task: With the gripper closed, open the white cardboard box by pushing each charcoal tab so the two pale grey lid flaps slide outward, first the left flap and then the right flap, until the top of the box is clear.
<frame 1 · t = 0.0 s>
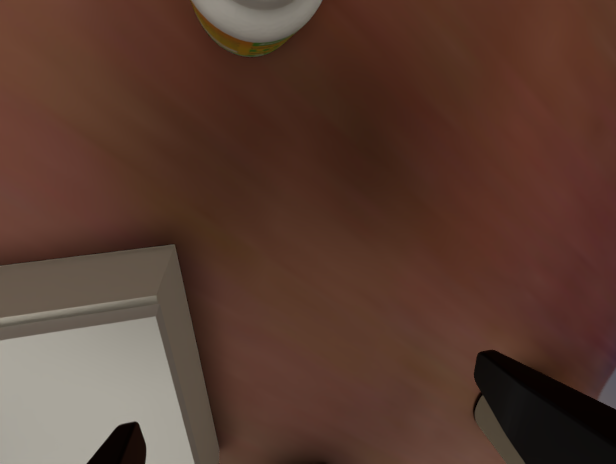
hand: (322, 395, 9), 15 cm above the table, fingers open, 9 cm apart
carton: (34, 391, 24), on the table
travel mug: (507, 397, 35), on the table
supplement bottle: (246, 0, 18), on the table
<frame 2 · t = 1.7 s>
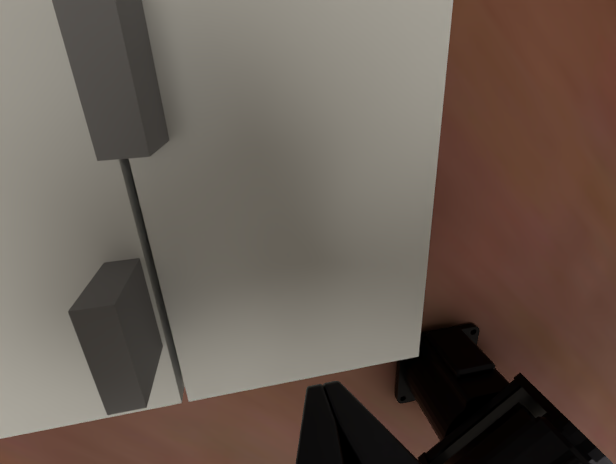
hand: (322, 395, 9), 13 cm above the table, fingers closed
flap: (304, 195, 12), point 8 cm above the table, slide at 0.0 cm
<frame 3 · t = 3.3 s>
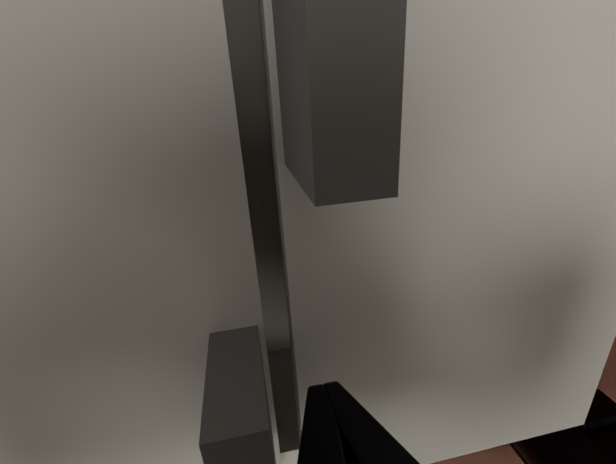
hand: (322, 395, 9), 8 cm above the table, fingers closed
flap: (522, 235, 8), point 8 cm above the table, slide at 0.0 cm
carton: (258, 179, 15), on the table
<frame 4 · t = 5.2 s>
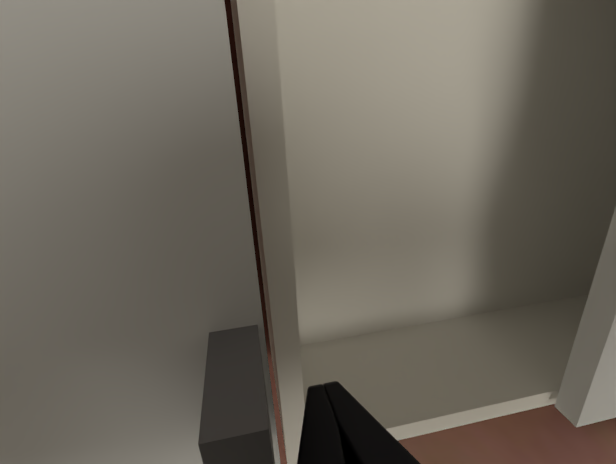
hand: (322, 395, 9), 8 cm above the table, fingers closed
carton: (483, 156, 17), on the table
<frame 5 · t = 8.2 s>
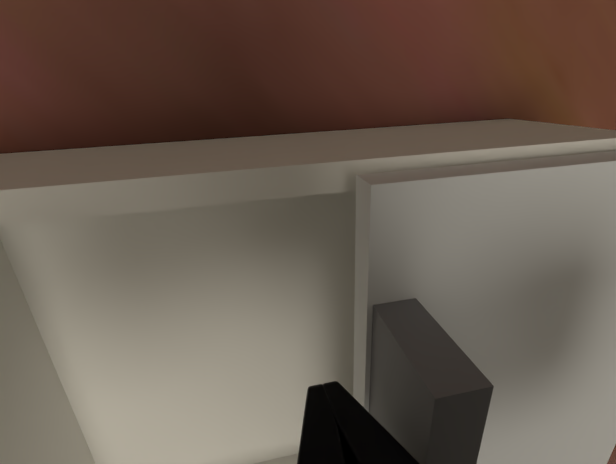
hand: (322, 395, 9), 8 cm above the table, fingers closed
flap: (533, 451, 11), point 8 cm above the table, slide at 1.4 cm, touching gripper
carton: (284, 327, 18), on the table
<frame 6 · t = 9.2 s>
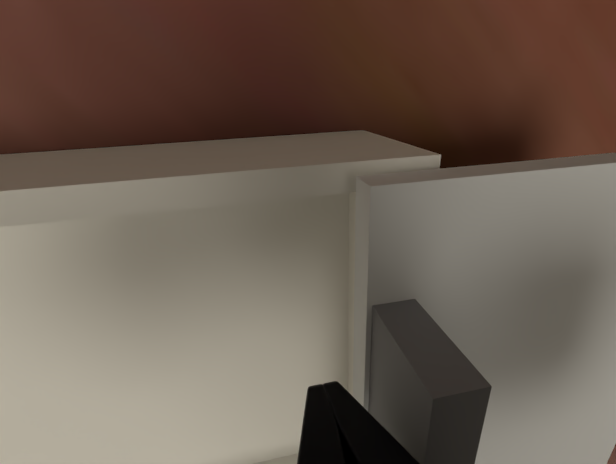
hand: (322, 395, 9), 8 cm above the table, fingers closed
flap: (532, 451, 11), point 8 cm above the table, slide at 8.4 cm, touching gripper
carton: (138, 351, 16), on the table
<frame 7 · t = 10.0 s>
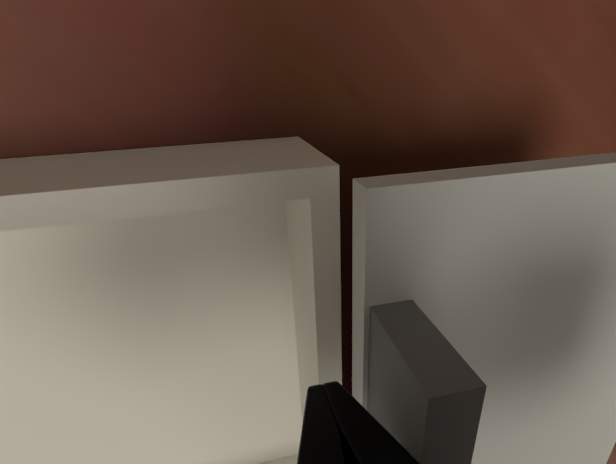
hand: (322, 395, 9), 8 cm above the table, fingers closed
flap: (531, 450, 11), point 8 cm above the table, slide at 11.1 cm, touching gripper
carton: (77, 363, 16), on the table
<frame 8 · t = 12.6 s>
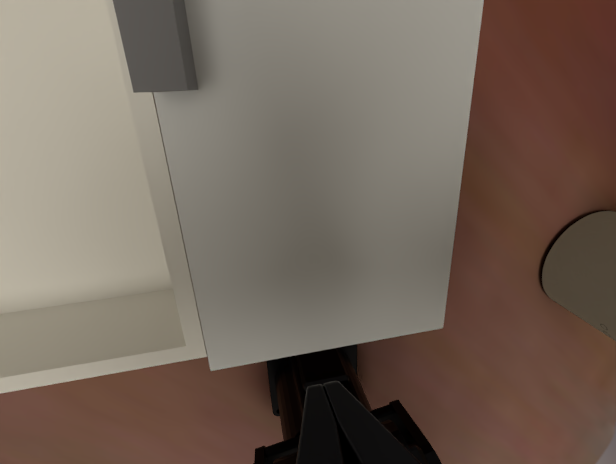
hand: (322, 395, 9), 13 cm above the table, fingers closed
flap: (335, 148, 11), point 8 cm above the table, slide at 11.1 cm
travel mug: (581, 256, 27), on the table
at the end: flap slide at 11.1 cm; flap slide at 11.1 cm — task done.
